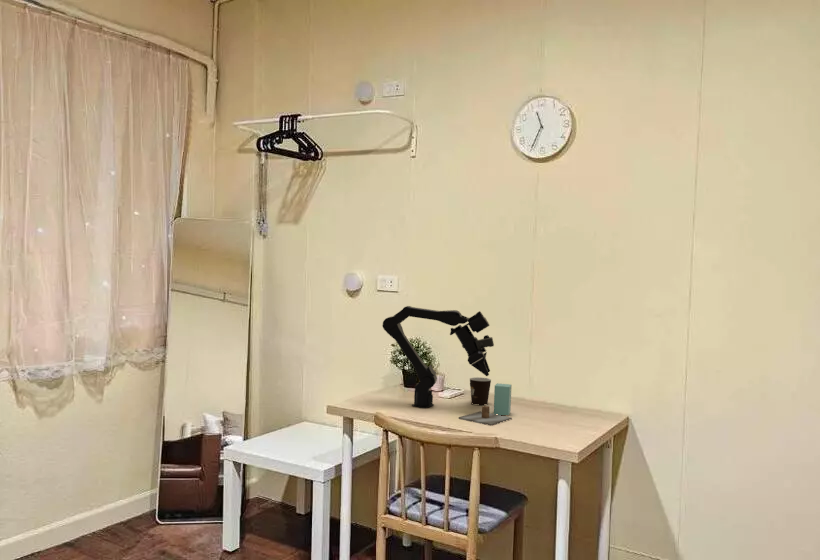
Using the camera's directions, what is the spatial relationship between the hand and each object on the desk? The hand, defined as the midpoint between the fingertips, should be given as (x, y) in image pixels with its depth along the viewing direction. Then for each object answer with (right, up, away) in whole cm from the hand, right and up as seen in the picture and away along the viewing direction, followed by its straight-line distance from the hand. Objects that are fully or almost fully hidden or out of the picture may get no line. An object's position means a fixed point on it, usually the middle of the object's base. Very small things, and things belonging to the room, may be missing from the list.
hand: (488, 373), depth 258 cm
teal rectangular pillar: (+5, -15, -4) cm, 16 cm away
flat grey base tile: (-3, -15, -14) cm, 20 cm away
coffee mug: (-2, -14, +14) cm, 20 cm away
